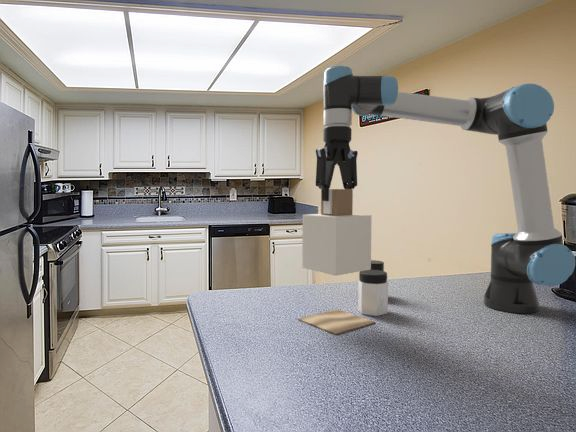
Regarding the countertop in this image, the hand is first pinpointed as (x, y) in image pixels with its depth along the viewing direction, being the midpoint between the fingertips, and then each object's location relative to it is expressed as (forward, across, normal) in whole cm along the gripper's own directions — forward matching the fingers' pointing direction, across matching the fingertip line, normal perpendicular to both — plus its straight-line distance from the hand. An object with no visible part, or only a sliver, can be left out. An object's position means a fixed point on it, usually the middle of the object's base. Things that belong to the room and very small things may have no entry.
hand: (336, 212), depth 112 cm
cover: (+15, 0, 0) cm, 15 cm away
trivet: (+30, 0, 0) cm, 30 cm away
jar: (+30, -15, 0) cm, 34 cm away
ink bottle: (+30, -29, -12) cm, 43 cm away
